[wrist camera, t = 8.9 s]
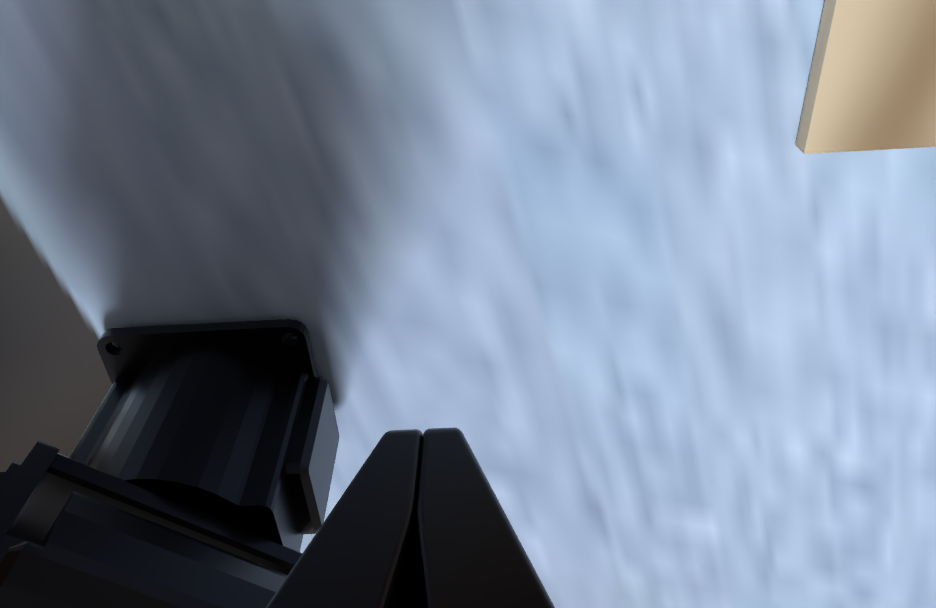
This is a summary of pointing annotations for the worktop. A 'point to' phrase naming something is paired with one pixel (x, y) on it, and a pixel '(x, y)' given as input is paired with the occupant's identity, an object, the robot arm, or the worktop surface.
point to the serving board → (872, 78)
